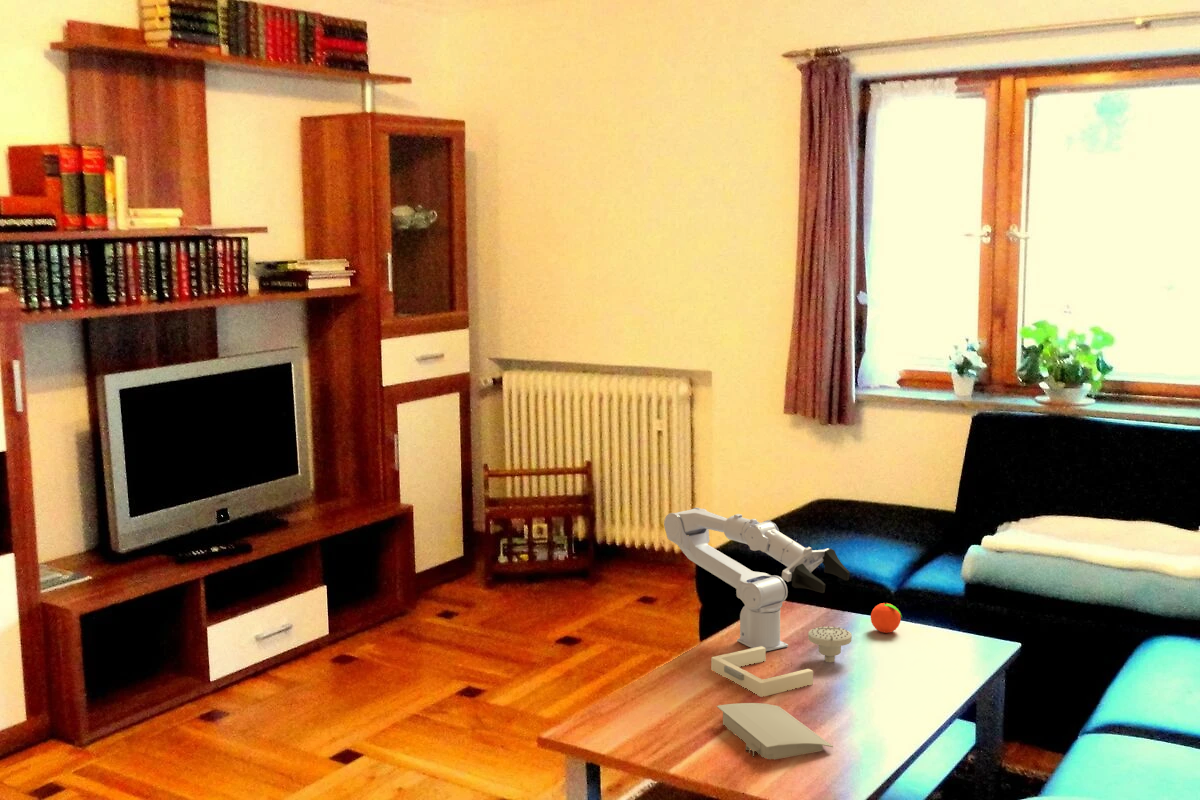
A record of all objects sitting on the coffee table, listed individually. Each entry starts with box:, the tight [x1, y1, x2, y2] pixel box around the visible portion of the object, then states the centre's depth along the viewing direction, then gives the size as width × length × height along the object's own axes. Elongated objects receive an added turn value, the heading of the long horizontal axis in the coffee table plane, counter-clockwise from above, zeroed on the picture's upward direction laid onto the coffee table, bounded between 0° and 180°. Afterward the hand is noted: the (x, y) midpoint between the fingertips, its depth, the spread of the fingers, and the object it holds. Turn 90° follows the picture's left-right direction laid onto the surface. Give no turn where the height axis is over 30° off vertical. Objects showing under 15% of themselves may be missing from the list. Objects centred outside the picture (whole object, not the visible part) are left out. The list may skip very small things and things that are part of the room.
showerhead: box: [807, 625, 853, 663], centre depth 271 cm, size 9×7×10 cm
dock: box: [710, 646, 814, 698], centre depth 262 cm, size 18×14×3 cm
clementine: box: [870, 602, 903, 634], centre depth 289 cm, size 8×7×7 cm
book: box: [716, 702, 834, 761], centre depth 231 cm, size 15×23×4 cm, turn 20°
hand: (836, 582), depth 263 cm, fingers open, 7 cm apart
